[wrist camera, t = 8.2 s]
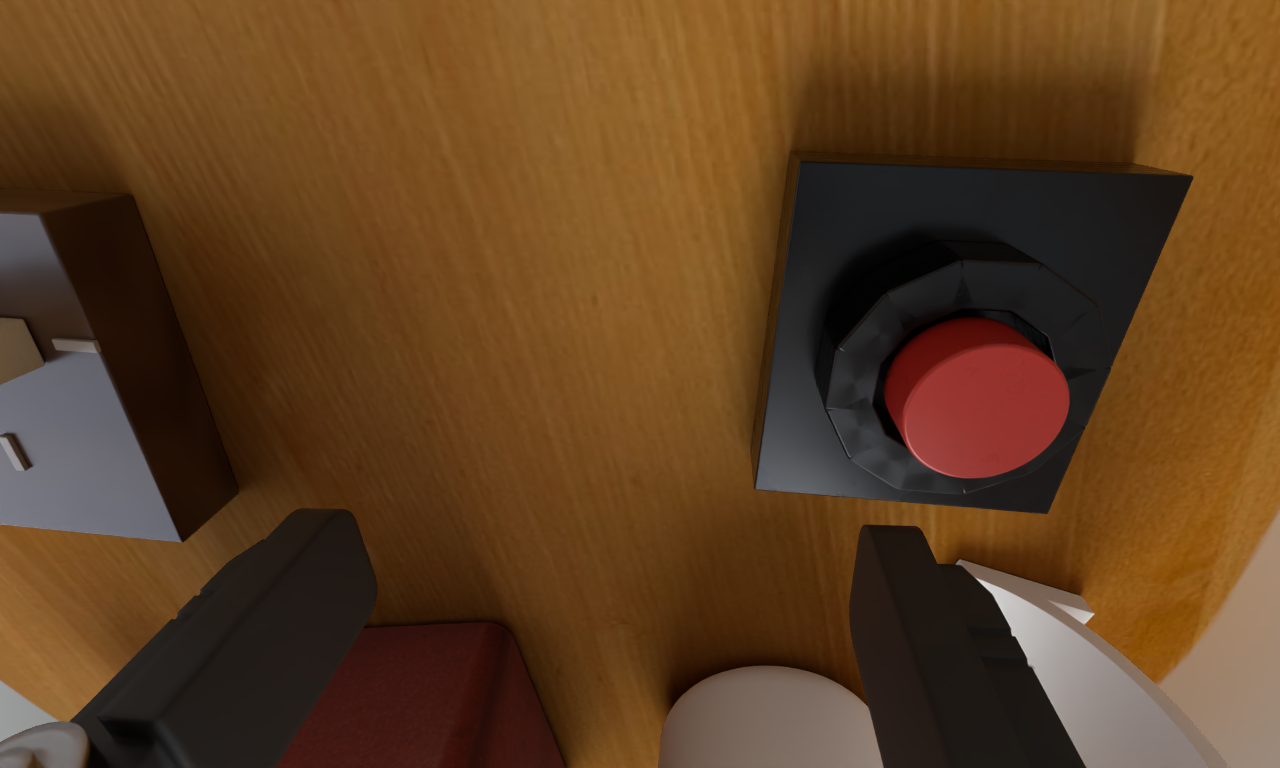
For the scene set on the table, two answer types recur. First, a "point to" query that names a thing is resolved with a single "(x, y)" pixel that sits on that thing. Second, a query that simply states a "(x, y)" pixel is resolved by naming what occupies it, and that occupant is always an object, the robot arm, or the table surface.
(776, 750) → the cup
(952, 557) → the table surface
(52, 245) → the panel
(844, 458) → the button block
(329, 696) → the plant pot
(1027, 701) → the robot arm
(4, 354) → the handle
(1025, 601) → the headphone stand
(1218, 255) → the table surface
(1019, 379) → the button
